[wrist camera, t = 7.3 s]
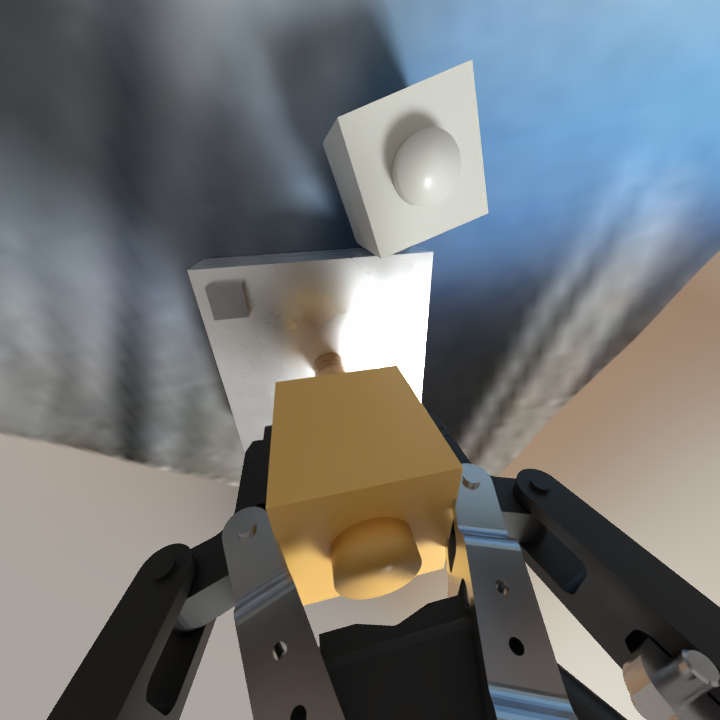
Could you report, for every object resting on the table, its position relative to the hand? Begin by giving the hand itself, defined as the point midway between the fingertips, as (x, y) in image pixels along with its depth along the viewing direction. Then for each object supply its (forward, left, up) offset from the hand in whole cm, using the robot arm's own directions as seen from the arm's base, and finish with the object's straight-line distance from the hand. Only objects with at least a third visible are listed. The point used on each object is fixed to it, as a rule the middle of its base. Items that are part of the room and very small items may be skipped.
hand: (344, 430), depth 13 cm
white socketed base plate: (0, 0, -9) cm, 9 cm away
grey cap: (-10, +4, -9) cm, 13 cm away
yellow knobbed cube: (0, 0, -1) cm, 1 cm away
